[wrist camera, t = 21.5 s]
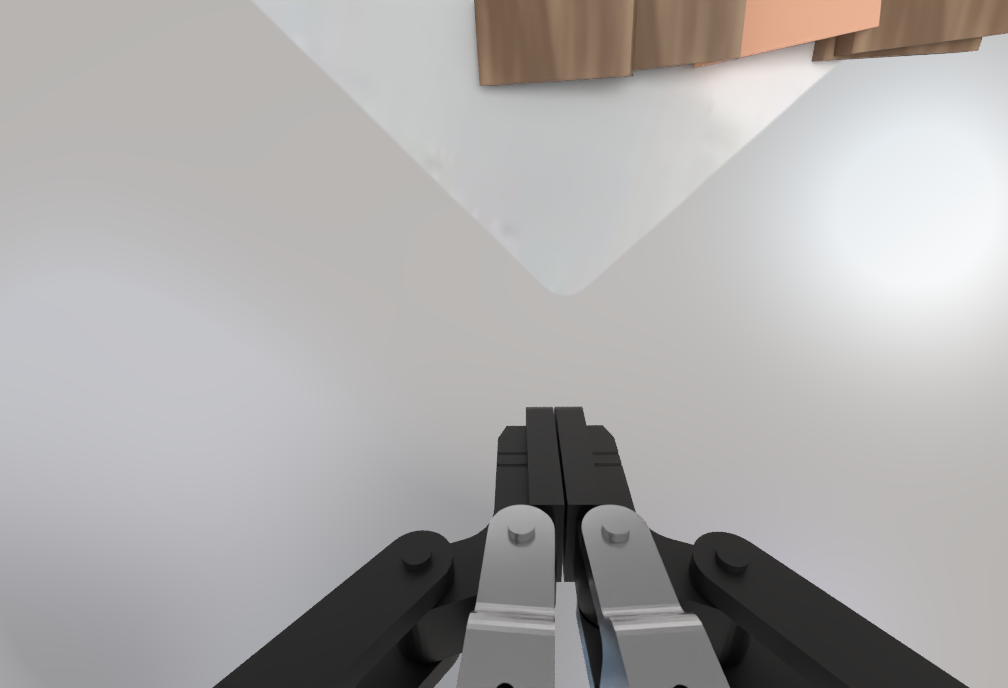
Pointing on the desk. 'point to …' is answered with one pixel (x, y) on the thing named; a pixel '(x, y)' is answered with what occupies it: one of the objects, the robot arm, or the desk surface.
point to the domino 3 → (801, 22)
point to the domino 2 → (687, 32)
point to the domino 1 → (554, 40)
